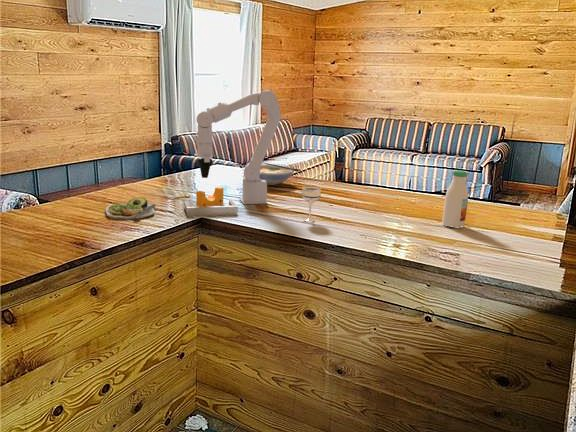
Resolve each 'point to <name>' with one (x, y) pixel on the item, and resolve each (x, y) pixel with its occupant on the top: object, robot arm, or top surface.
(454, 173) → the milk bottle
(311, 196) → the wineglass
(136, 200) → the salad plate
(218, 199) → the pipe clamp
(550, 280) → the top surface
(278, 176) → the ramen bowl
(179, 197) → the brass spoon
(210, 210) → the hitch bracket
